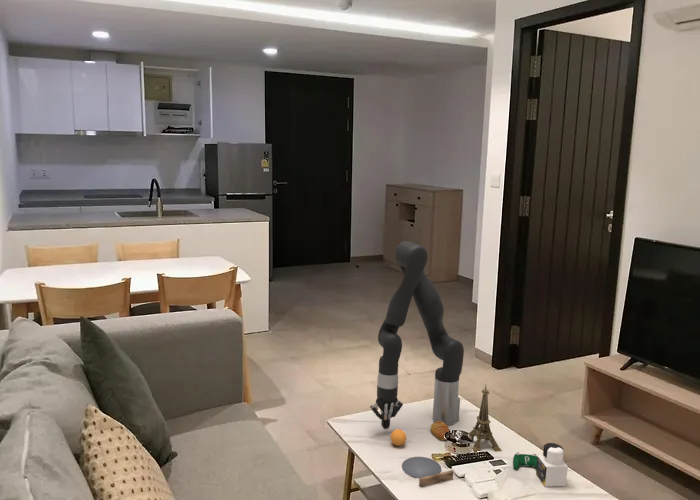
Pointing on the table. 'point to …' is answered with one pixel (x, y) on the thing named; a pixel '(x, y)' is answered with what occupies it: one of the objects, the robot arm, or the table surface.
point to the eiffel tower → (483, 421)
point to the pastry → (439, 429)
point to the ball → (398, 437)
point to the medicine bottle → (552, 466)
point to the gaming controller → (524, 460)
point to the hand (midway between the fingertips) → (385, 428)
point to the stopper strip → (435, 478)
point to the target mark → (420, 467)
